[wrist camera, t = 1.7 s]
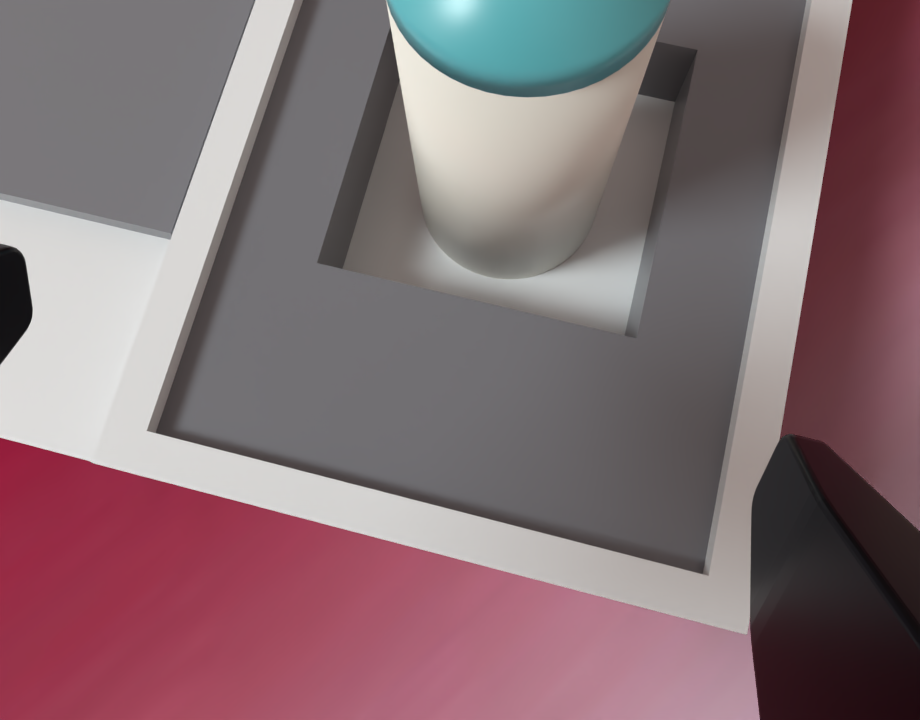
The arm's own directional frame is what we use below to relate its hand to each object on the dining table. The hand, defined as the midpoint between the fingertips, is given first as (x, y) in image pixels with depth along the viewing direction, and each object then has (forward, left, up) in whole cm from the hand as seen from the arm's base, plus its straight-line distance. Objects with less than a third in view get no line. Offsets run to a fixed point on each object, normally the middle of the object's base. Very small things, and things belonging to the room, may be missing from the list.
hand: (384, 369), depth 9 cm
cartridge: (+7, -5, -12) cm, 15 cm away
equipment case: (+10, +1, -13) cm, 17 cm away
